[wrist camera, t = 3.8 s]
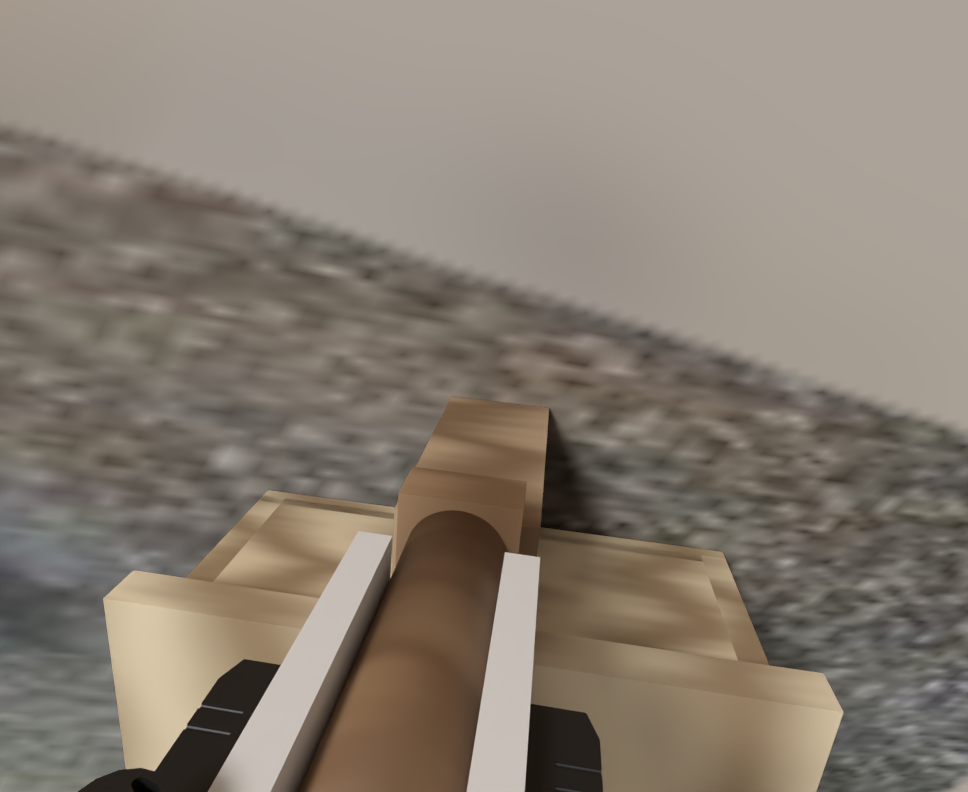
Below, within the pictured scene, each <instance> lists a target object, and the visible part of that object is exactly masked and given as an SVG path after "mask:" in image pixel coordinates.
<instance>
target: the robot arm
mask: <svg viewBox="0 0 968 792" xmlns="http://www.w3.org/2000/svg"><path fill="white" fill-rule="evenodd" d="M391 553H392V536H389V535H382V534H375V533H368V532H362V531H358V533H357V534H356V536H355V538H354V539H353V541H352V543H351V545H350V546H349V548H348V550H347V552H346V553H345V555H344V557H343V558H342V560H341V562H340V564H339V565H338V567H337V569H336V571H335V572H334V574H333V576H332V577H331V579H330V581H329V583H328V584H327V586H326V588H325V590H324V591H323V593H322V595H321V597H320V598H319V600H318V602H317V603H316V605H315V607H314V609H313V610H312V612H311V614H310V616H309V617H308V619H307V621H306V622H305V624H304V626H303V628H302V629H301V631H300V633H299V635H298V636H297V638H296V640H295V642H294V643H293V645H292V647H291V648H290V650H289V652H288V654H287V655H286V657H285V659H284V661H283V662H282V664H281V665H278V664H272V663H266V662H260V661H254V660H247V659H243V660H242V661H241V662H240V663H238V664H237V665H236V666H234V667H233V668H232V669H230V670H229V671H228V672H226V673H225V674H224V675H222V676H221V677H220V678H218V680H217V681H216V683H215V684H214V686H213V687H212V689H211V690H210V691H209V693H208V694H207V696H206V697H205V699H204V700H203V702H202V703H201V707H200V708H198V709H197V710H196V712H195V713H194V715H193V716H192V718H191V719H190V721H189V722H188V723H187V727H186V729H183V731H182V732H181V734H180V735H179V737H178V738H177V739H176V741H175V742H174V744H173V745H172V747H171V748H170V750H169V751H168V753H167V754H166V756H165V757H164V758H163V760H162V761H161V763H160V764H159V766H158V767H157V769H156V770H155V771H151V770H148V769H144V768H135V769H125V770H118V771H116V772H113V773H110V774H108V775H105V776H103V777H100V778H97V779H95V780H94V781H93V782H91V783H90V784H88V785H87V786H85V787H84V788H82V789H81V790H79V791H78V792H298V791H299V789H300V786H301V784H302V782H303V779H304V777H305V775H306V772H307V770H308V768H309V766H310V763H311V761H312V759H313V756H314V754H315V752H316V749H317V747H318V745H319V742H320V740H321V738H322V736H323V733H324V731H325V729H326V726H327V724H328V722H329V719H330V717H331V715H332V712H333V710H334V708H335V706H336V703H337V701H338V699H339V696H340V694H341V692H342V689H343V687H344V685H345V682H346V680H347V678H348V676H349V673H350V671H351V669H352V666H353V664H354V662H355V659H356V657H357V655H358V653H359V650H360V648H361V646H362V643H363V641H364V639H365V636H366V634H367V632H368V629H369V627H370V625H371V623H372V620H373V618H374V616H375V613H376V611H377V609H378V606H379V604H380V602H381V599H382V597H383V595H384V593H385V590H386V588H387V586H388V583H389V581H390V573H391ZM539 568H540V557H535V556H528V555H521V554H514V553H507V552H505V555H504V561H503V567H502V573H501V580H500V586H499V592H498V598H497V605H496V611H495V617H494V623H493V630H492V636H491V642H490V648H489V655H488V661H487V667H486V673H485V680H484V686H483V692H482V698H481V705H480V711H479V717H478V723H477V730H476V736H475V742H474V748H473V755H472V761H471V767H470V773H469V780H468V786H467V792H603V781H602V775H601V772H602V765H601V748H600V739H599V737H598V735H597V733H596V731H595V729H594V727H593V725H592V723H591V721H590V719H589V717H588V715H587V713H584V712H578V711H572V710H566V709H560V708H554V707H548V706H541V705H535V704H531V689H532V674H533V659H534V644H535V628H536V613H537V598H538V583H539Z"/></svg>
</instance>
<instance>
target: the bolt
mask: <svg viewBox="0 0 968 792" xmlns="http://www.w3.org/2000/svg"><path fill="white" fill-rule="evenodd" d="M526 487H527V481H520V480H512V479H505V478H497V477H489V476H481V475H474V474H466V473H458V472H451V471H443V470H435V469H428V468H420V467H412V468H411V470H410V472H409V474H408V476H407V478H406V480H405V482H404V484H403V486H402V488H401V489H400V491H399V495H398V517H397V539H396V561H395V569H394V572H393V574H392V576H391V579H390V581H389V583H388V586H387V588H386V590H385V593H384V595H383V597H382V599H381V602H380V604H379V606H378V609H377V611H376V613H375V616H374V618H373V620H372V623H371V625H370V627H369V629H368V632H367V634H366V636H365V639H364V641H363V643H362V646H361V648H360V650H359V653H358V655H357V657H356V659H355V662H354V664H353V666H352V669H351V671H350V673H349V676H348V678H347V680H346V682H345V685H344V687H343V689H342V692H341V694H340V696H339V699H338V701H337V703H336V706H335V708H334V710H333V712H332V715H331V717H330V719H329V722H328V724H327V726H326V729H325V731H324V733H323V736H322V738H321V740H320V742H319V745H318V747H317V749H316V752H315V754H314V756H313V759H312V761H311V763H310V766H309V768H308V770H307V772H306V775H305V777H304V779H303V782H302V784H301V786H300V789H299V791H298V792H467V786H468V780H469V773H470V767H471V761H472V755H473V748H474V742H475V736H476V730H477V723H478V717H479V711H480V705H481V698H482V692H483V686H484V680H485V673H486V667H487V661H488V655H489V648H490V642H491V636H492V630H493V623H494V617H495V611H496V605H497V598H498V592H499V586H500V580H501V573H502V567H503V561H504V555H505V552H507V553H514V554H519V546H520V537H521V529H522V520H523V512H524V503H525V495H526Z"/></svg>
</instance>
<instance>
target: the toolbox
mask: <svg viewBox="0 0 968 792" xmlns="http://www.w3.org/2000/svg"><path fill="white" fill-rule="evenodd" d="M548 417H549V408H545V407H537V406H528V405H520V404H512V403H503V402H495V401H487V400H478V399H470V398H462V397H453V396H452V397H451V399H450V401H449V403H448V405H447V407H446V409H445V411H444V413H443V415H442V417H441V419H440V421H439V423H438V425H437V426H436V428H435V430H434V432H433V434H432V436H431V438H430V440H429V442H428V444H427V446H426V448H425V450H424V452H423V454H422V456H421V458H420V460H419V462H418V464H417V465H416V467H420V468H428V469H435V470H443V471H451V472H458V473H466V474H474V475H481V476H489V477H497V478H505V479H512V480H520V481H527V487H526V495H525V503H524V512H523V520H522V529H521V537H520V546H519V554H521V555H528V556H535V557H540V568H539V583H538V598H537V613H536V628H535V631H542V632H549V633H555V634H562V635H569V636H576V637H582V638H589V639H596V640H602V641H609V642H616V643H622V644H629V645H636V646H642V647H649V648H656V649H662V650H669V651H676V652H683V653H689V654H696V655H703V656H709V657H716V658H723V659H729V660H736V661H743V662H749V663H756V664H763V665H769V663H768V661H767V658H766V656H765V653H764V651H763V649H762V646H761V644H760V641H759V639H758V637H757V634H756V632H755V629H754V627H753V624H752V622H751V620H750V617H749V615H748V612H747V610H746V608H745V605H744V603H743V600H742V598H741V595H740V593H739V591H738V588H737V586H736V583H735V581H734V579H733V576H732V574H731V571H730V569H729V566H728V564H727V562H726V559H725V557H724V554H723V552H719V551H712V550H705V549H697V548H690V547H683V546H675V545H668V544H661V543H653V542H646V541H638V540H631V539H624V538H616V537H609V536H602V535H594V534H587V533H580V532H572V531H565V530H557V529H550V528H543V527H541V514H542V500H543V486H544V472H545V458H546V445H547V431H548ZM397 517H398V503H397V504H396V506H395V507H388V506H381V505H373V504H366V503H359V502H351V501H344V500H337V499H329V498H322V497H315V496H307V495H300V494H293V493H285V492H278V491H270V490H268V491H267V492H266V493H265V494H264V495H263V496H262V497H261V499H260V500H259V501H258V502H257V503H256V504H255V505H254V506H253V507H252V508H251V509H250V510H249V511H248V512H247V513H246V514H245V516H244V517H243V518H242V519H241V520H240V521H239V522H238V523H237V524H236V525H235V526H234V527H233V528H232V529H231V530H230V531H229V533H228V534H227V535H226V536H225V537H224V538H223V539H222V540H221V541H220V542H219V543H218V544H217V545H216V546H215V547H214V548H213V550H212V551H211V552H210V553H209V554H208V555H207V556H206V557H205V558H204V559H203V560H202V561H201V562H200V563H199V564H198V565H197V567H196V568H195V569H194V570H193V571H192V572H191V573H190V574H189V575H188V576H187V577H186V578H188V579H194V580H201V581H208V582H214V583H221V584H228V585H234V586H241V587H248V588H254V589H261V590H268V591H275V592H281V593H288V594H295V595H301V596H308V597H315V598H320V597H321V595H322V593H323V591H324V590H325V588H326V586H327V584H328V583H329V581H330V579H331V577H332V576H333V574H334V572H335V571H336V569H337V567H338V565H339V564H340V562H341V560H342V558H343V557H344V555H345V553H346V552H347V550H348V548H349V546H350V545H351V543H352V541H353V539H354V538H355V536H356V534H357V533H358V531H362V532H368V533H375V534H382V535H389V536H392V553H391V573H390V579H391V576H392V574H393V572H394V569H395V561H396V539H397Z"/></svg>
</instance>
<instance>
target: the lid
mask: <svg viewBox="0 0 968 792" xmlns="http://www.w3.org/2000/svg"><path fill="white" fill-rule="evenodd" d="M318 600H319V598H315V597H308V596H301V595H295V594H288V593H281V592H275V591H268V590H261V589H254V588H248V587H241V586H234V585H228V584H221V583H214V582H208V581H201V580H194V579H188V578H181V577H174V576H168V575H161V574H154V573H147V572H141V571H133V572H131V573H130V574H129V575H128V576H127V577H126V578H125V579H124V580H123V581H122V582H121V583H119V584H118V585H117V586H116V587H115V588H114V589H113V590H112V591H111V592H110V593H109V594H107V595H106V596H105V597H104V598H103V601H104V608H105V616H106V623H107V631H108V638H109V646H110V653H111V661H112V668H113V676H114V683H115V691H116V698H117V706H118V713H119V721H120V728H121V736H122V743H123V751H124V758H125V766H126V769H135V768H144V769H148V770H151V771H155V770H156V769H157V767H158V766H159V764H160V763H161V761H162V760H163V758H164V757H165V756H166V754H167V753H168V751H169V750H170V748H171V747H172V745H173V744H174V742H175V741H176V739H177V738H178V737H179V735H180V734H181V732H182V731H183V729H186V727H187V723H188V722H189V721H190V719H191V718H192V716H193V715H194V713H195V712H196V710H197V709H198V708H200V707H201V703H202V702H203V700H204V699H205V697H206V696H207V694H208V693H209V691H210V690H211V689H212V687H213V686H214V684H215V683H216V681H217V680H218V678H220V677H221V676H222V675H224V674H225V673H226V672H228V671H229V670H230V669H232V668H233V667H234V666H236V665H237V664H238V663H240V662H241V661H242V660H243V659H247V660H254V661H260V662H266V663H272V664H278V665H281V664H282V662H283V661H284V659H285V657H286V655H287V654H288V652H289V650H290V648H291V647H292V645H293V643H294V642H295V640H296V638H297V636H298V635H299V633H300V631H301V629H302V628H303V626H304V624H305V622H306V621H307V619H308V617H309V616H310V614H311V612H312V610H313V609H314V607H315V605H316V603H317V602H318ZM531 704H535V705H541V706H548V707H554V708H560V709H566V710H572V711H578V712H584V713H587V715H588V717H589V719H590V721H591V723H592V725H593V727H594V729H595V731H596V733H597V735H598V737H599V739H600V748H601V765H602V772H601V775H602V781H603V792H816V791H817V788H818V785H819V782H820V779H821V776H822V773H823V771H824V768H825V765H826V762H827V759H828V756H829V753H830V750H831V747H832V744H833V742H834V739H835V736H836V733H837V730H838V727H839V724H840V721H841V718H842V716H843V713H844V712H843V710H842V708H841V707H840V705H839V703H838V701H837V699H836V697H835V695H834V693H833V691H832V689H831V687H830V685H829V683H828V681H827V679H826V677H825V675H824V674H823V673H816V672H810V671H803V670H796V669H790V668H783V667H776V666H769V665H763V664H756V663H749V662H743V661H736V660H729V659H723V658H716V657H709V656H703V655H696V654H689V653H683V652H676V651H669V650H662V649H656V648H649V647H642V646H636V645H629V644H622V643H616V642H609V641H602V640H596V639H589V638H582V637H576V636H569V635H562V634H555V633H549V632H542V631H535V644H534V659H533V674H532V689H531Z"/></svg>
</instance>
